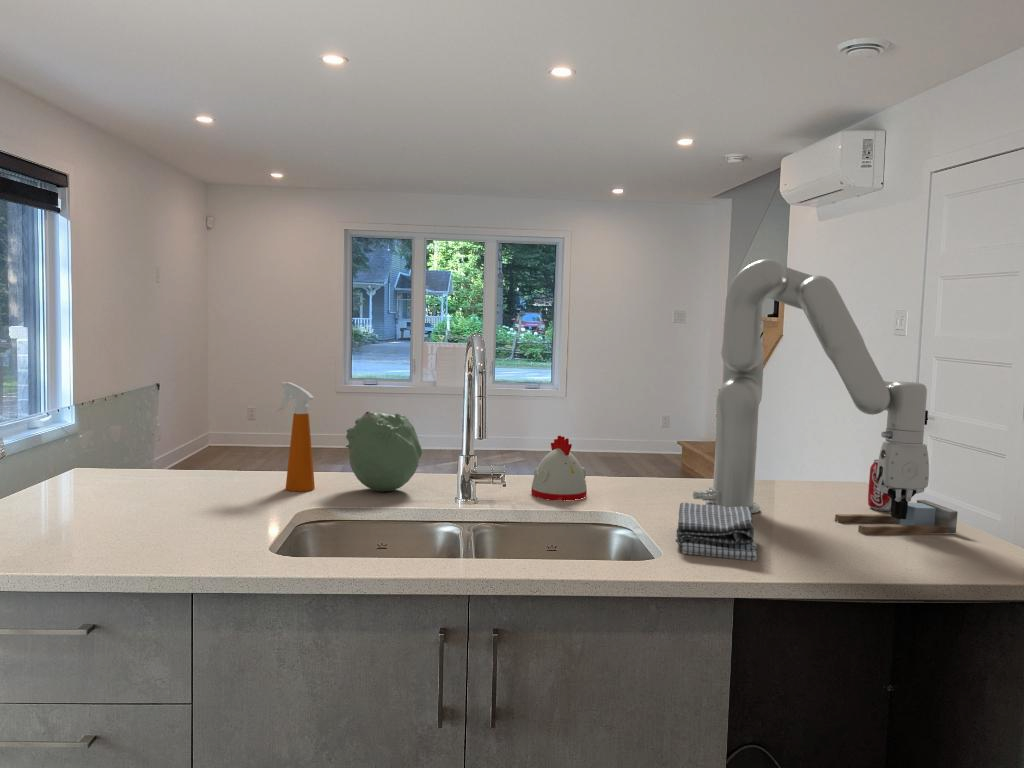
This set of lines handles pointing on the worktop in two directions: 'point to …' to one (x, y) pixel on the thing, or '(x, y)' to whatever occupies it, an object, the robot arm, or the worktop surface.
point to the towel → (716, 531)
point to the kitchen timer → (559, 474)
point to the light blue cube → (919, 515)
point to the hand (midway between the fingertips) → (898, 517)
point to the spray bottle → (299, 440)
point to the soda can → (877, 492)
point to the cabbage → (383, 450)
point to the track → (943, 524)
